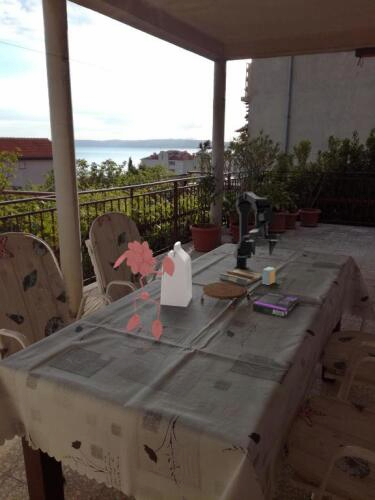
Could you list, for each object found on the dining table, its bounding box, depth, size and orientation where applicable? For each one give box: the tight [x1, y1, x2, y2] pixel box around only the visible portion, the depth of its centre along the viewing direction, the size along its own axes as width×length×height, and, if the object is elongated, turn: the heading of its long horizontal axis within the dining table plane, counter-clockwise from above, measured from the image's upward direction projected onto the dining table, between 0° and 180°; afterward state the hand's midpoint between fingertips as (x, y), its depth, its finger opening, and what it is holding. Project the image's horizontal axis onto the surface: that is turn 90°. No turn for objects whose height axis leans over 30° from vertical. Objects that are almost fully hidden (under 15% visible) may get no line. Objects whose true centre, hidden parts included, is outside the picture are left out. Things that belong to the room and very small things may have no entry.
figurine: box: [113, 240, 175, 350], centre depth 133 cm, size 15×26×35 cm, turn 60°
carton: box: [261, 266, 276, 286], centre depth 198 cm, size 4×6×8 cm, turn 141°
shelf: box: [219, 268, 263, 286], centre depth 207 cm, size 18×16×3 cm
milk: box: [159, 241, 193, 308], centre depth 171 cm, size 12×12×26 cm
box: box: [252, 290, 299, 317], centre depth 170 cm, size 14×4×20 cm
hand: (262, 255), depth 195 cm, fingers open, 9 cm apart
